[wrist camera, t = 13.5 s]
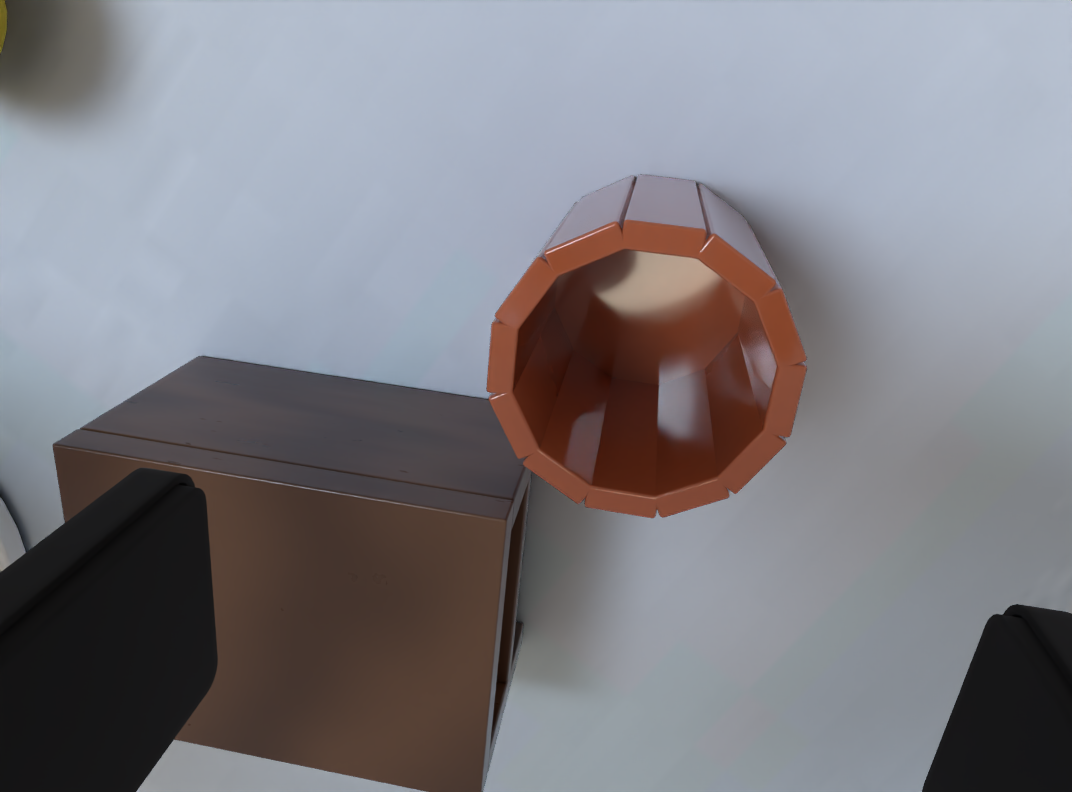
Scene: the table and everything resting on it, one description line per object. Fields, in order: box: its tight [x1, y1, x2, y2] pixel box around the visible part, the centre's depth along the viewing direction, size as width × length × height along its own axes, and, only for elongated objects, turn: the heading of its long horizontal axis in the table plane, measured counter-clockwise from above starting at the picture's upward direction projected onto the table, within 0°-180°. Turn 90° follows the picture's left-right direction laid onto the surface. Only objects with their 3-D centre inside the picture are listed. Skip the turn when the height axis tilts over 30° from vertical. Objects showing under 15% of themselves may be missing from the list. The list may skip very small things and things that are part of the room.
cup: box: [486, 174, 807, 518], centre depth 20 cm, size 7×7×8 cm
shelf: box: [53, 356, 532, 792], centre depth 25 cm, size 12×10×7 cm
